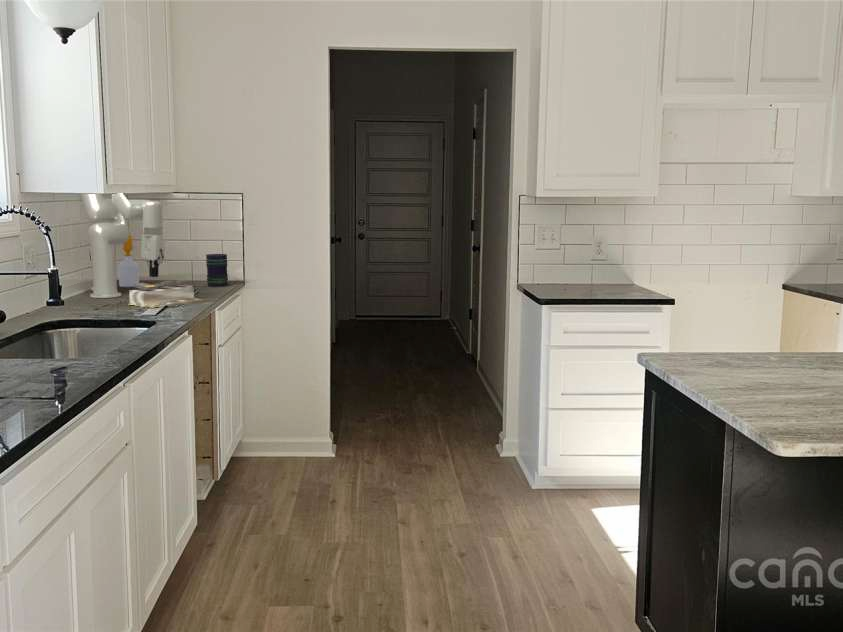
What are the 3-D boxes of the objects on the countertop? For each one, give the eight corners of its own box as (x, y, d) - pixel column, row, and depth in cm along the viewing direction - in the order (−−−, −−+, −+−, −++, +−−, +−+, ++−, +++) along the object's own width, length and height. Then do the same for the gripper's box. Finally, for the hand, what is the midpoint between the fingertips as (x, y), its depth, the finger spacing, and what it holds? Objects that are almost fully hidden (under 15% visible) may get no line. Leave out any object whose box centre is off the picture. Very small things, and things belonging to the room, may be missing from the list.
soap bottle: (138, 284, 415) (135, 233, 411) (140, 286, 407) (137, 234, 403) (118, 285, 411) (115, 234, 408) (120, 287, 403) (117, 235, 399)
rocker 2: (167, 285, 356) (166, 282, 356) (176, 284, 359) (175, 281, 359) (180, 283, 350) (180, 280, 350) (189, 282, 354) (188, 279, 353)
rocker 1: (133, 286, 343) (133, 283, 343) (142, 285, 347) (142, 282, 346) (146, 290, 338) (146, 286, 338) (156, 289, 341) (156, 285, 341)
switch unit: (128, 305, 343) (127, 290, 342) (180, 299, 362) (179, 284, 361) (151, 308, 334) (150, 293, 333) (203, 301, 353) (202, 287, 352)
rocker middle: (150, 288, 349) (150, 284, 349) (160, 286, 353) (159, 283, 353) (163, 285, 344) (163, 281, 344) (173, 284, 347) (172, 280, 347)
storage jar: (232, 285, 410) (231, 254, 408) (215, 287, 402) (214, 255, 400) (219, 284, 416) (218, 253, 414) (202, 286, 409) (201, 254, 407)
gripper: (134, 230, 349) (135, 275, 352) (156, 233, 340) (157, 279, 343) (149, 230, 355) (150, 274, 358) (172, 232, 346) (172, 277, 349)
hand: (153, 276), depth 351 cm, fingers closed
